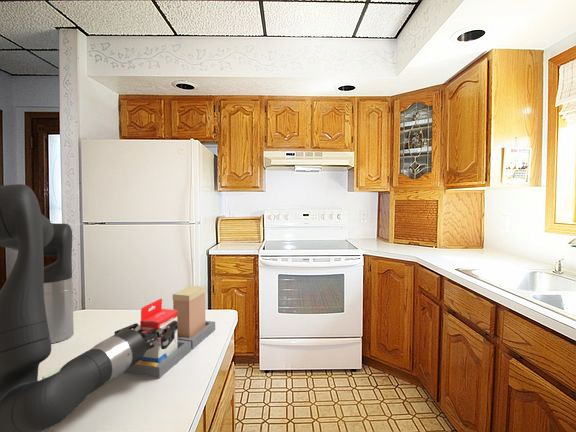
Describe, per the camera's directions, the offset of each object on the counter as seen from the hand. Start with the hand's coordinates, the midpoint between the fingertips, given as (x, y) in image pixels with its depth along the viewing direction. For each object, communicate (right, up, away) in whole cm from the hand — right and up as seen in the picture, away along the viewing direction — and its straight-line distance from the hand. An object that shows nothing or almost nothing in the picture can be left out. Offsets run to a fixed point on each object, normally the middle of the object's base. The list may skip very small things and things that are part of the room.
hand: (166, 323), depth 80 cm
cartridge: (+3, -8, +11) cm, 14 cm away
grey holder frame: (+1, -8, +5) cm, 10 cm away
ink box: (-1, -9, -2) cm, 9 cm away
